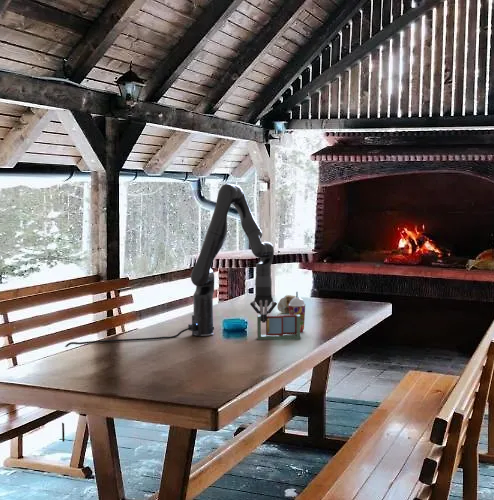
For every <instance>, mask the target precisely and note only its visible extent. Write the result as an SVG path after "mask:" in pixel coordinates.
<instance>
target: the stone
mask: <svg viewBox="0 0 494 500" xmlns="http://www.w3.org/2000/svg"><path fill="white" fill-rule="evenodd" d="M295 297H296V295H291V294H286V295H285V296H284V297H281V298H280V299H279V301H278V302H277V305H276V306H277V310H278V311H279V312H281V313H282V314H289V305H288V304H289V303H290V301H291V300H292V299H293V298H295Z"/></svg>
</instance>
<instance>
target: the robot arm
mask: <svg viewBox="0 0 494 500" xmlns="http://www.w3.org/2000/svg"><path fill="white" fill-rule="evenodd" d="M231 206H233V207H234V208H235V209H236V211H237V213H238V216H239V220H240V225H241V228H242V231H243V232H244V234H245V236H246V237H247V240H248V243H249V247H250V251H251V253H252V254H253V255H254V256H255V257H256V258H258V259H260V260H259V262H257V263H256V265H255V279H254V281H255V282H254V287H255V288H254V289H255V291H254V292H255V296H254V300H253V301H251V302H250V303H249V305H250V307H252V309H253V310H254V312H256V313H257V314H258V315H261V324H262V323H265V324H266V321H267V316H268V314H271V313H272V312H273V310H274V309H275V308H276V306H278V302H277V301H275V300H274V299H273V295H272V294H273V293H272V289H273V288H272V286H273V284H272V282H273V281H272V264H273V261H274V260H273V259H274V254H275V249H274V246H273V244H272V243H271V242H270V241H263V242H262V239H261V238H263V231H262V229H261V228H260V226H259V225H258V222H257V221H256V220H255V217H254V215H253V213H252V211H251V208H250V206H249V203H248V201H247V198H246V195H245V192H244V190H243V189H242V187H241V186H239V185H237V184H234V183H233V184H232V183H225V184H222V185H221V187H220V188H219V190H218V193H217V197H216V202H215V205H214V210H213V213H212V216H211V219H210V222H209V225H208V227H207V230H206V233H205V235H204V241H203V243H202V245H201V249H200V252H199V255H198V257H197V260H196V262H195V264H194V266H193V268H192V270H191V273H190V281H191V283H192V285H194V286H195V291H194V292H193V297H192V299H193V301H192V303H193V314H192V315H191V323H189V324H187V327H186V328H184V329H182V330H181V331H179V332H178V333H177V334H175V335H172V336H171V335H170V336H158V337H157V336H156V337H155V336H154V337H141V338H140V337H139V338H122V339H121V338H120V339H118V338H117V339H103V340H91V341H81V342H77V341H70V342H68V343H67V344H65V346H64V348H67V347H69V346H72V345H87V344H98V343H112V342H113V343H114V342H134V341H135V342H137V341H149V340H150V341H152V340H163V339H164V340H165V339H175V338H177V337H179V336H180V335H181V334H183V333H184V332H186V331H190V332H191V335H192V336H195V337H210V336H213V335H214V330H215V326H214V309H213V308H214V302H213V301H214V299H213V298H214V294H215V273H214V270H213V269H212V265H213V262H214V260H215V258H216V257H217V256H218V254H219V252H220V251H221V249H222V247H223V245H224V243H225V240H226V237H227V234H228V213H229V211H230V207H231ZM256 305H257V306H258V307H259V308H258V307H257V306H256ZM270 305H271V306H270ZM268 307H270V308H269V309H268ZM61 430H62V431H61V435H62V437H61V439H62V440H61V441H62V442H65V423H64V422H61Z"/></svg>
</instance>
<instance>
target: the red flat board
mask: <svg viewBox="0 0 494 500" xmlns="http://www.w3.org/2000/svg"><path fill="white" fill-rule="evenodd" d="M265 335H266V336H275V335H284V334H283V316H279V315H267V321H265Z"/></svg>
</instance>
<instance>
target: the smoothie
mask: <svg viewBox="0 0 494 500" xmlns="http://www.w3.org/2000/svg"><path fill="white" fill-rule="evenodd" d="M295 293H296V295H295V296H296V297H295V298H293V299H292V300H291V301H290V303H289V304H288V305H289V313H288V315H300V334H301V333H303V332H304V330H305V319H306V303H305V301H304V299H302V298H301V297H299V295H298V294H299V292H298V291H296V292H295Z"/></svg>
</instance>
